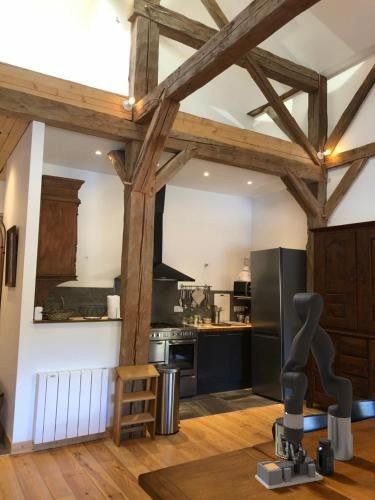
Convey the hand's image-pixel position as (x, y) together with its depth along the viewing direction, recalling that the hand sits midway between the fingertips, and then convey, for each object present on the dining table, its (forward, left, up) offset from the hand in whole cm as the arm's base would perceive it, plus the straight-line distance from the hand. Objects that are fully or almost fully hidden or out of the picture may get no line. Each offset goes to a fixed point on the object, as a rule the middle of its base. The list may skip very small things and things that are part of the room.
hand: (293, 471), depth 146 cm
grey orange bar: (+2, 0, -1) cm, 2 cm away
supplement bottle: (-15, 0, -3) cm, 15 cm away
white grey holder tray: (+2, 0, -2) cm, 3 cm away
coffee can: (-10, -18, -3) cm, 21 cm away
